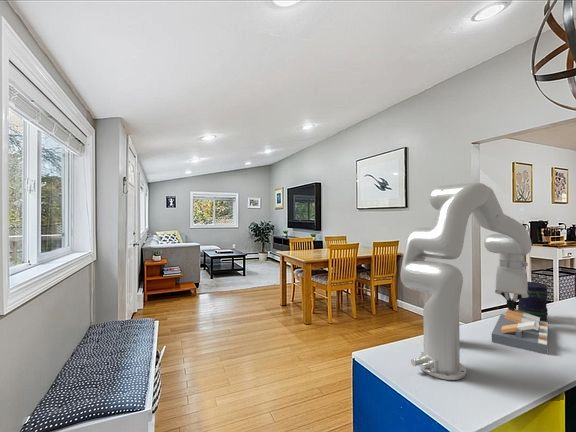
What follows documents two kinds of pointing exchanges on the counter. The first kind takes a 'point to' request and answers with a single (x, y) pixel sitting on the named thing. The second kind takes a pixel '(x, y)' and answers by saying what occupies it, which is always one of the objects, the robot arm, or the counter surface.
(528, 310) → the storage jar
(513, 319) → the switch
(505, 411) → the counter surface
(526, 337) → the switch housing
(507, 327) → the switch
